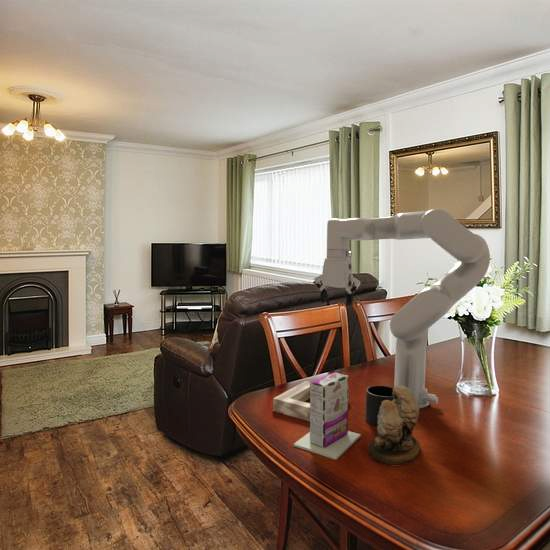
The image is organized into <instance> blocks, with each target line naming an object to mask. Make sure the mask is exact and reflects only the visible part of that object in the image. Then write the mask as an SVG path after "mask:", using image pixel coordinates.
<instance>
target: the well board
mask: <svg viewBox="0 0 550 550" xmlns="http://www.w3.org/2000/svg"><path fill="white" fill-rule="evenodd" d="M310 382H311V381H309V380H305V381H302V382H301V383H299V384H297V385H295V386H293V387H292V388H290V389H288V390H286V391H284V392H282V393H281V394H279V395H278V396H275V397H274V398H273V399H272V400H273V401H272V405H273V407H272V411H273V412H275V411H276V413H280V414H282V413H283V414H282V415H285V416H289V417H293V418H297V419H301V420H303V421H304V420H305V421H308V422H310V402H306V401H308V400H310ZM349 392H350V390H349V389H348V398H349V397H350V396H349V394H350V393H349Z"/></svg>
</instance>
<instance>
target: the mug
mask: <svg viewBox="0 0 550 550" xmlns="http://www.w3.org/2000/svg"><path fill="white" fill-rule="evenodd" d="M393 389H394V387H393V386H387V385H371V386H369V387H367V388H366V391H365V392H366V393H365V421H366V422H367V423H368V424H371V425H372V426H376V427H378V424H377V422H378V417H377V416H378V414H379V410H380V406H381V404H382V403H381V402H382V401H384V400H389V401H393V395H392V392H393Z"/></svg>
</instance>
